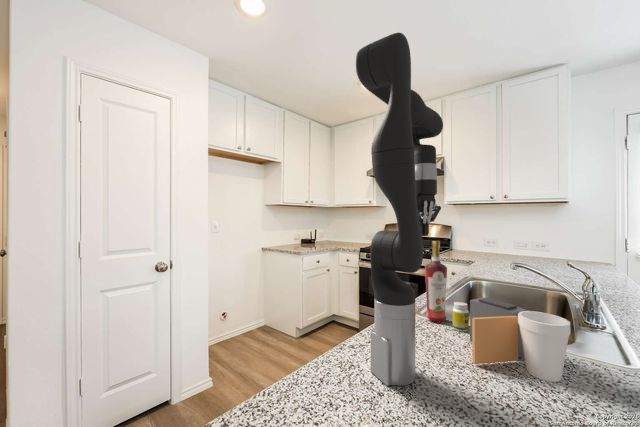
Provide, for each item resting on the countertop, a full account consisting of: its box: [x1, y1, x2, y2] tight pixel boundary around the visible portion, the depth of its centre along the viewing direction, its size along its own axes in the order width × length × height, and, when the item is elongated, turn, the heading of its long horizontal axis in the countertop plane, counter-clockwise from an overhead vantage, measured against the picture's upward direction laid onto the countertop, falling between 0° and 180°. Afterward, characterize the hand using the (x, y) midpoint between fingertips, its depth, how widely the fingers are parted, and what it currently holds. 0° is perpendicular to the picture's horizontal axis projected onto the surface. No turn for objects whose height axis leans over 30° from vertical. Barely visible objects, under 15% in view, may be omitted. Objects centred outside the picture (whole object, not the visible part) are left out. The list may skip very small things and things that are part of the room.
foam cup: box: [518, 310, 571, 383], centre depth 64 cm, size 10×9×13 cm
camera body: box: [469, 297, 528, 359], centre depth 77 cm, size 6×12×13 cm, turn 25°
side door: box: [471, 316, 519, 365], centre depth 68 cm, size 1×12×11 cm, turn 99°
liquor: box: [424, 240, 448, 323], centre depth 97 cm, size 7×7×28 cm
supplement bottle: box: [452, 301, 470, 333], centre depth 89 cm, size 5×5×8 cm
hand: (423, 235), depth 84 cm, fingers closed
